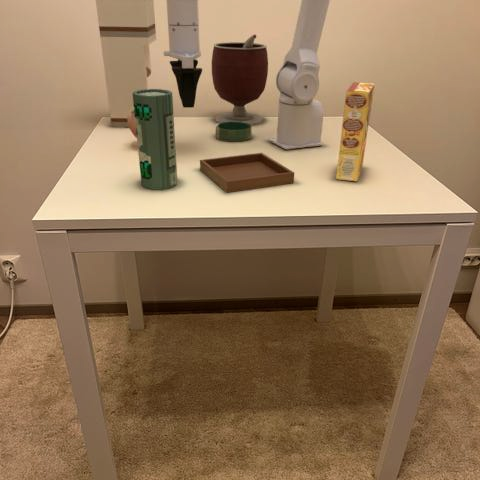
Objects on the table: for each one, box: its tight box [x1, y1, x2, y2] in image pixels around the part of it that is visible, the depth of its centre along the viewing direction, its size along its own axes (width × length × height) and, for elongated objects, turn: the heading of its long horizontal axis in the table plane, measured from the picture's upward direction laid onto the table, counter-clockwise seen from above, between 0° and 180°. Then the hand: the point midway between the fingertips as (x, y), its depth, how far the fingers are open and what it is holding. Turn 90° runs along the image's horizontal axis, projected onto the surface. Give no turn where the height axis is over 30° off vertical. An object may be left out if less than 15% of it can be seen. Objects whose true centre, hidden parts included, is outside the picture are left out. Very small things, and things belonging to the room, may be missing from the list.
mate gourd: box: [211, 34, 269, 126], centre depth 122 cm, size 16×14×20 cm
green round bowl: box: [215, 122, 253, 143], centre depth 114 cm, size 8×8×2 cm
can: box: [132, 88, 178, 191], centre depth 84 cm, size 6×6×15 cm
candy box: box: [335, 81, 375, 182], centre depth 90 cm, size 9×4×15 cm, turn 162°
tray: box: [199, 152, 295, 193], centre depth 92 cm, size 13×13×2 cm
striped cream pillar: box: [95, 0, 157, 128], centre depth 115 cm, size 11×11×35 cm
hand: (186, 103), depth 99 cm, fingers open, 7 cm apart
